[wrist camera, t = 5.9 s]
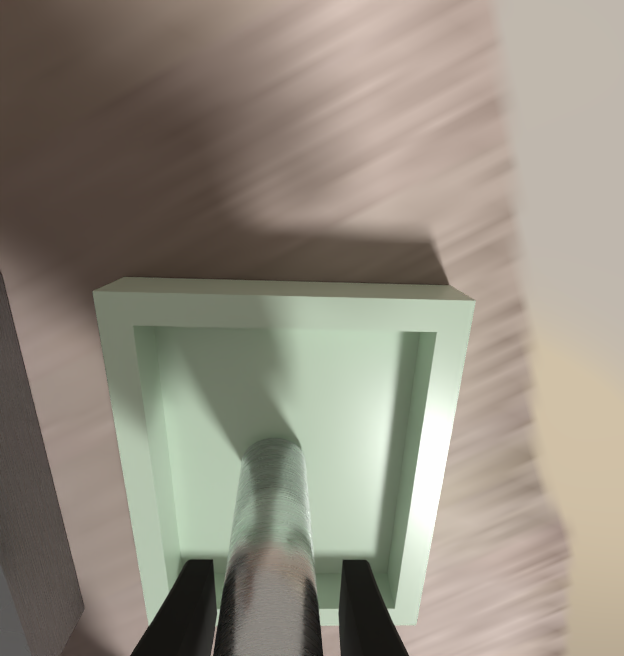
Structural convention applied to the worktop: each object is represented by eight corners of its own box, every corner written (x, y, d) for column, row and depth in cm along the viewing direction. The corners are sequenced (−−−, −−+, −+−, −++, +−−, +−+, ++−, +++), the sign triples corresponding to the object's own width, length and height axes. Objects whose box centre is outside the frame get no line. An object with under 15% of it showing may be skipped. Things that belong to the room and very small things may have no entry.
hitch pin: (320, 499, 15) (369, 889, 6) (227, 503, 14) (157, 916, 6) (322, 422, 14) (388, 781, 5) (222, 424, 13) (125, 809, 5)
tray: (403, 578, 17) (416, 625, 16) (166, 578, 17) (148, 626, 15) (449, 285, 13) (475, 300, 11) (124, 276, 12) (92, 291, 10)
